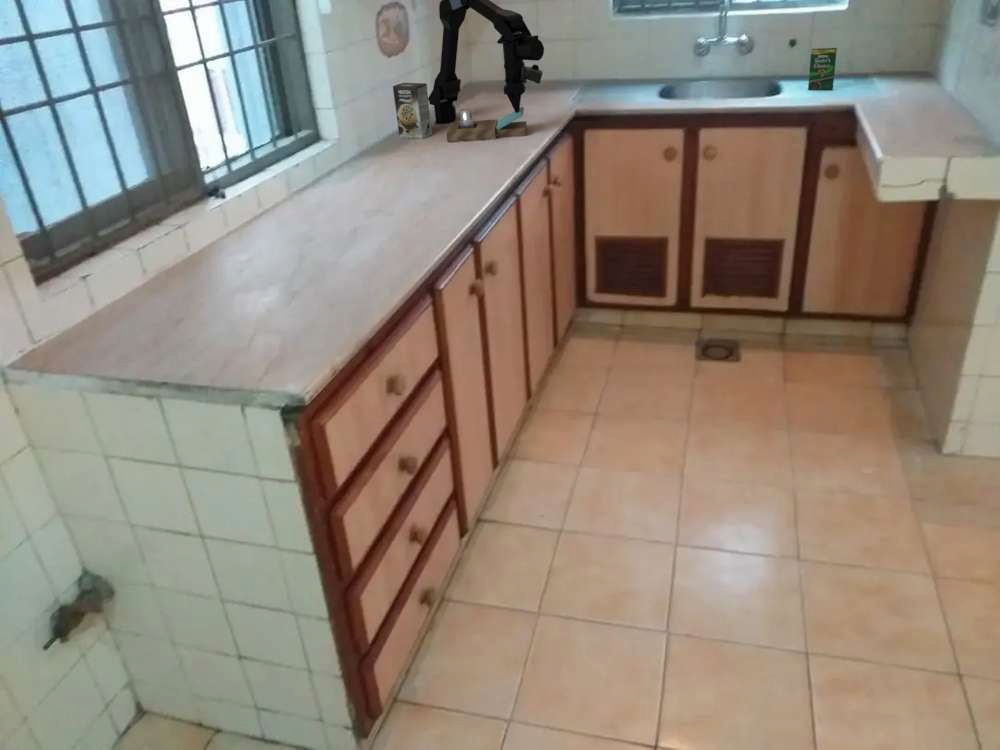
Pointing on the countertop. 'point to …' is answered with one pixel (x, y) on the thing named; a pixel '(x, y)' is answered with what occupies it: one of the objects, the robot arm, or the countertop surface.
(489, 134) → the socket block
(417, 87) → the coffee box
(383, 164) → the countertop surface
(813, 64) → the coffee box
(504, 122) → the latch flap
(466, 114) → the peg
